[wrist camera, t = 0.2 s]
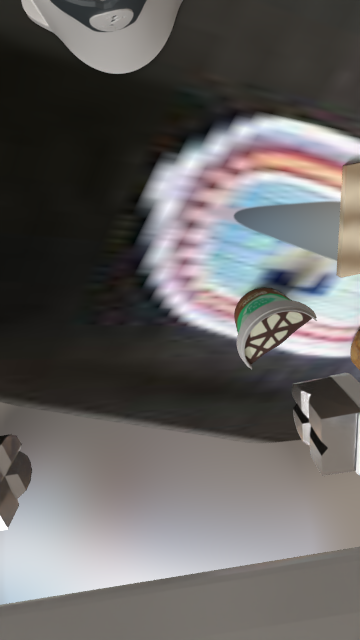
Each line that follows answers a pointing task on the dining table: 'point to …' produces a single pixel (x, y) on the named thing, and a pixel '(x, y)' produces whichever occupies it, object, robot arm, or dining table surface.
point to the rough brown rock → (356, 350)
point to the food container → (266, 322)
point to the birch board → (349, 222)
